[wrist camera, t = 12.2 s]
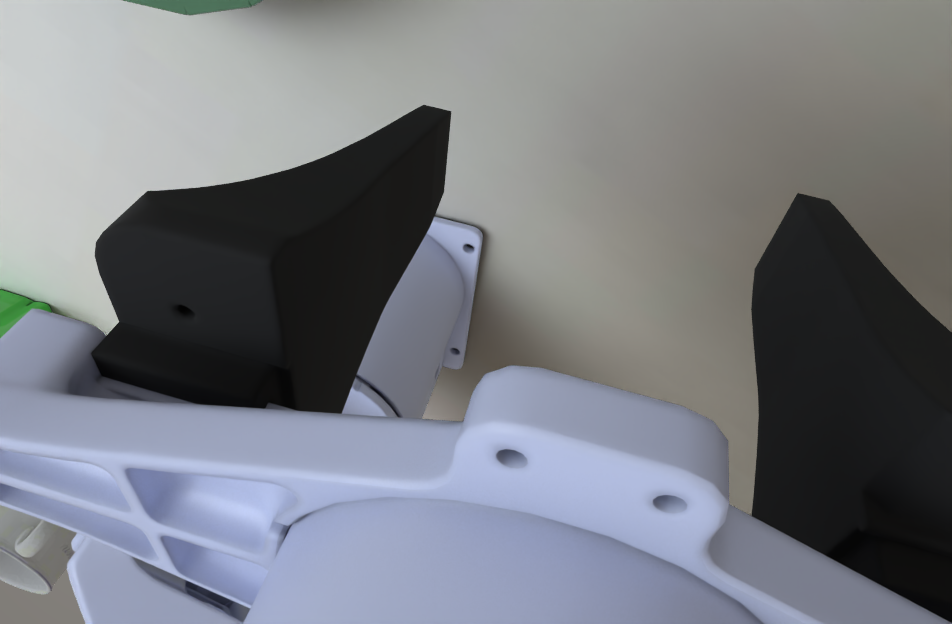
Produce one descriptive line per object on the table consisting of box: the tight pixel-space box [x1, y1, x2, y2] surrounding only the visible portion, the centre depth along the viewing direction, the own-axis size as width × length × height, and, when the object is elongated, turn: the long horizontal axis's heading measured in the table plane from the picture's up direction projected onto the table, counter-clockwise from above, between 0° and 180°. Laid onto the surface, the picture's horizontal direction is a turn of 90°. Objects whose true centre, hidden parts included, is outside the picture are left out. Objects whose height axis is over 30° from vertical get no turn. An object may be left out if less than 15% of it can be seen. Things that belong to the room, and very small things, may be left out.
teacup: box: [0, 505, 77, 594], centre depth 61 cm, size 14×11×8 cm
